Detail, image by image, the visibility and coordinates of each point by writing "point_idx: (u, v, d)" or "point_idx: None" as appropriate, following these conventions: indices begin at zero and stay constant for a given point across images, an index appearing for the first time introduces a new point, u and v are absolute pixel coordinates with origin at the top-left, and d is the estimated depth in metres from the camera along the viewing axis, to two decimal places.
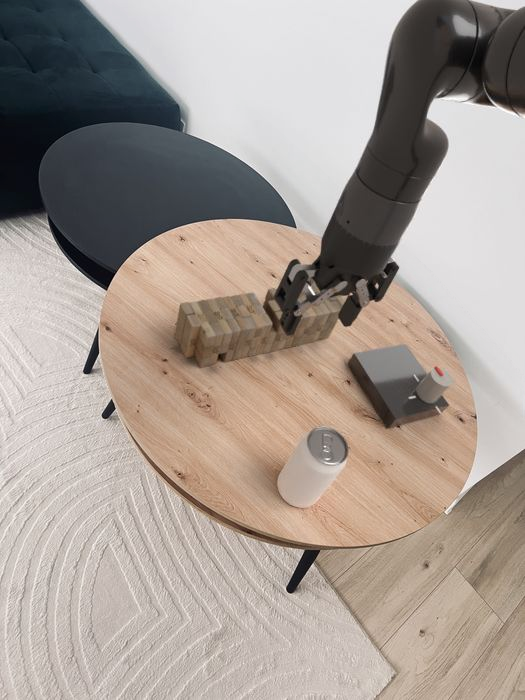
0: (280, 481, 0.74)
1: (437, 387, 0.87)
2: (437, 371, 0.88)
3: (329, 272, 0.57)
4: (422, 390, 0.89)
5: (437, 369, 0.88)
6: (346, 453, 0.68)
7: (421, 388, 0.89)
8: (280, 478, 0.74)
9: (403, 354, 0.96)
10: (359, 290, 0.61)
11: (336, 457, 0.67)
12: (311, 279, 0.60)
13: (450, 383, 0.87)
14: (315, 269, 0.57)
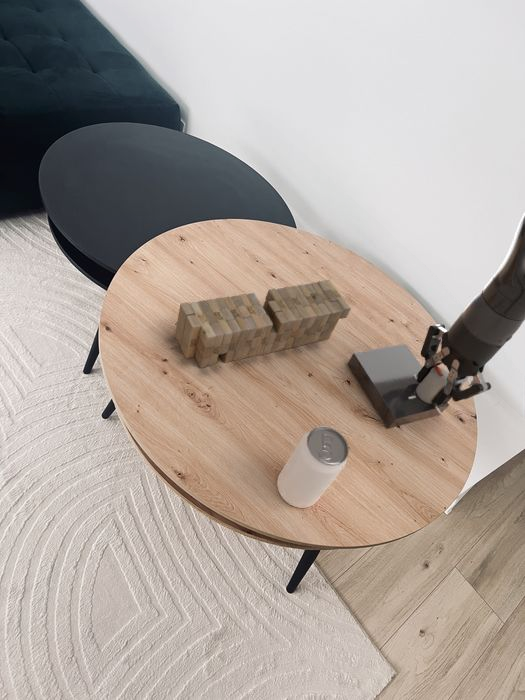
0: (280, 481, 0.74)
1: (437, 387, 0.87)
2: (437, 371, 0.88)
3: (447, 335, 0.84)
4: (422, 390, 0.89)
5: (437, 369, 0.88)
6: (346, 453, 0.68)
7: (421, 388, 0.89)
8: (280, 478, 0.74)
9: (403, 354, 0.96)
10: (452, 370, 0.83)
11: (336, 457, 0.67)
12: None
13: None
14: (444, 331, 0.85)
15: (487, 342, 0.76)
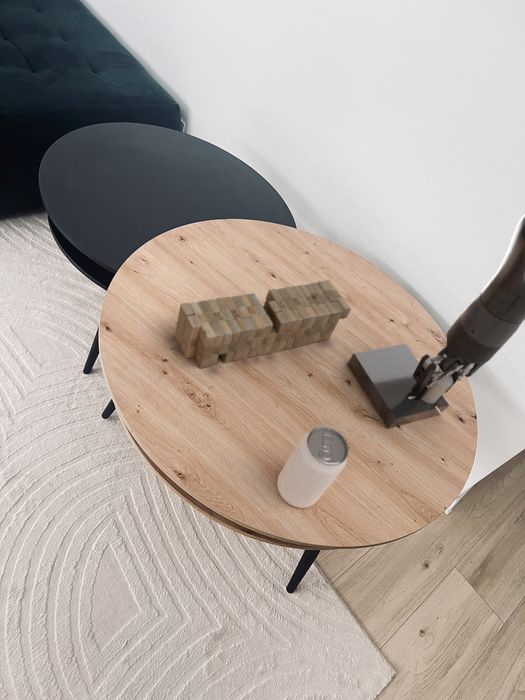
0: (280, 481, 0.74)
1: None
2: None
3: (451, 360, 0.81)
4: (438, 397, 0.89)
5: None
6: (346, 453, 0.68)
7: (436, 398, 0.89)
8: (280, 478, 0.74)
9: (403, 354, 0.96)
10: (466, 369, 0.85)
11: (336, 457, 0.67)
12: None
13: None
14: (441, 359, 0.82)
15: None
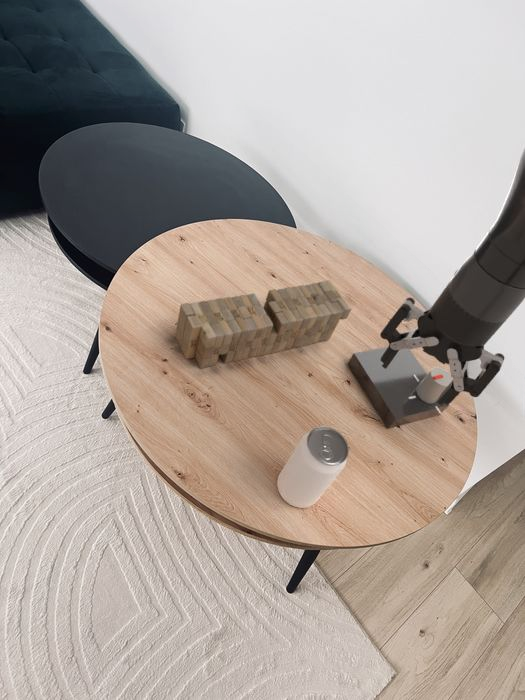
0: (280, 481, 0.74)
1: None
2: (439, 378, 0.87)
3: (428, 322, 0.64)
4: (438, 397, 0.89)
5: (437, 377, 0.87)
6: (346, 453, 0.68)
7: (436, 398, 0.89)
8: (280, 478, 0.74)
9: (403, 354, 0.96)
10: (451, 362, 0.65)
11: (336, 457, 0.67)
12: None
13: (446, 371, 0.89)
14: (419, 313, 0.65)
15: (498, 322, 0.58)
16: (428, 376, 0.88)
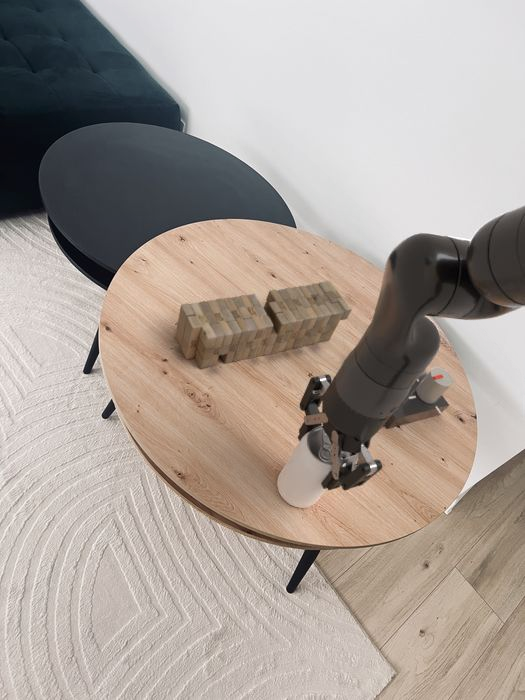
0: (279, 481, 0.74)
1: None
2: (439, 378, 0.87)
3: None
4: (438, 397, 0.89)
5: (437, 377, 0.87)
6: None
7: (436, 398, 0.89)
8: (280, 478, 0.74)
9: None
10: (333, 445, 0.63)
11: None
12: None
13: (446, 371, 0.89)
14: (326, 389, 0.65)
15: (364, 415, 0.56)
16: (428, 376, 0.88)
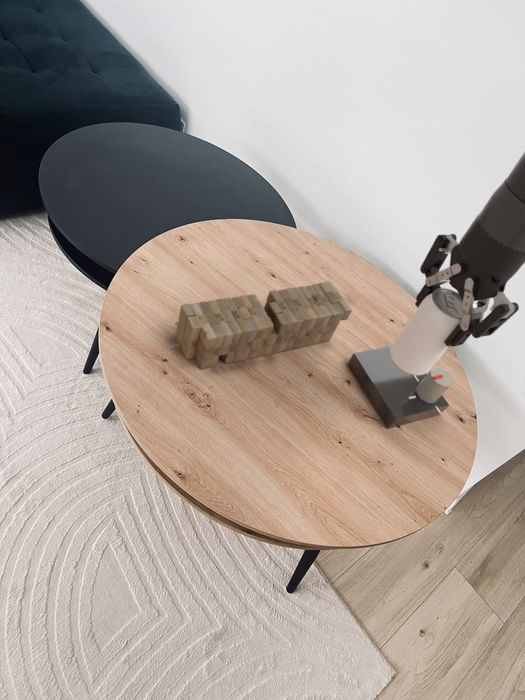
0: (394, 350, 0.76)
1: None
2: (439, 378, 0.87)
3: (458, 249, 0.66)
4: (438, 397, 0.89)
5: (437, 377, 0.87)
6: None
7: (436, 398, 0.89)
8: (395, 347, 0.76)
9: None
10: (466, 294, 0.66)
11: (461, 314, 0.69)
12: None
13: (446, 371, 0.89)
14: (454, 244, 0.67)
15: (512, 247, 0.58)
16: (428, 376, 0.88)
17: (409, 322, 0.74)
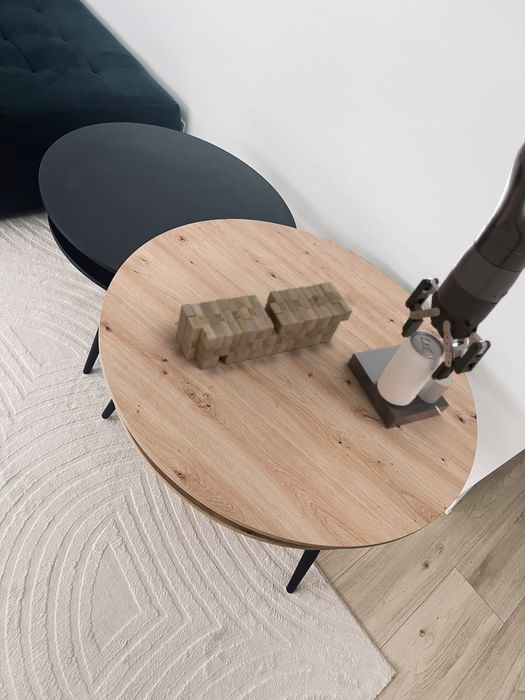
0: (380, 384, 0.87)
1: None
2: None
3: (438, 295, 0.77)
4: (438, 397, 0.89)
5: None
6: (442, 351, 0.81)
7: (436, 398, 0.89)
8: (381, 381, 0.87)
9: None
10: (445, 335, 0.76)
11: (435, 354, 0.80)
12: None
13: None
14: (436, 289, 0.78)
15: (480, 298, 0.69)
16: None
17: (392, 360, 0.85)
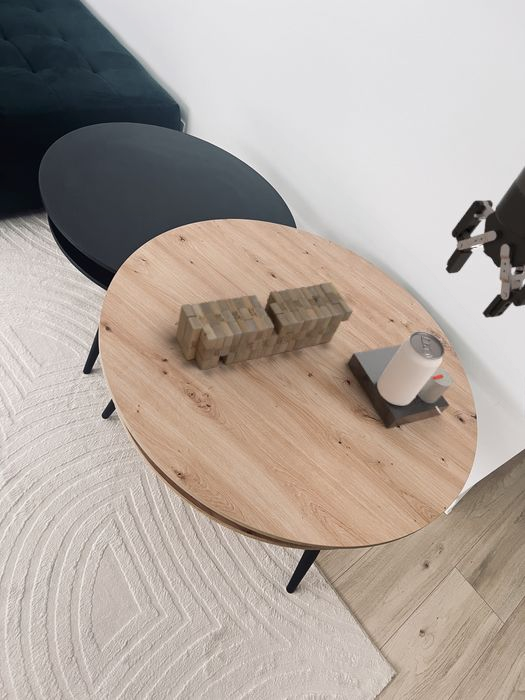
0: (380, 384, 0.87)
1: None
2: (439, 378, 0.87)
3: (493, 217, 0.67)
4: (438, 397, 0.89)
5: (437, 377, 0.87)
6: (442, 351, 0.81)
7: (436, 398, 0.89)
8: (381, 381, 0.87)
9: None
10: (502, 261, 0.66)
11: (435, 354, 0.80)
12: None
13: (446, 371, 0.89)
14: (490, 211, 0.68)
15: None
16: None
17: (392, 360, 0.85)
